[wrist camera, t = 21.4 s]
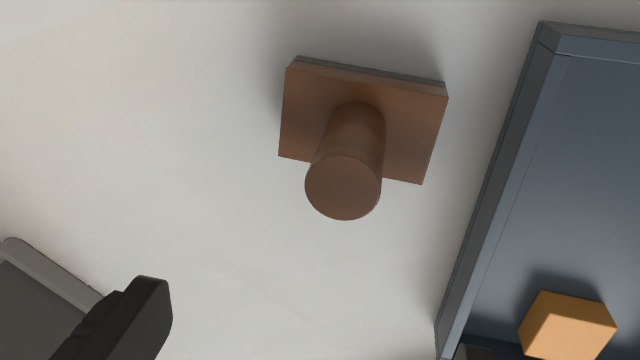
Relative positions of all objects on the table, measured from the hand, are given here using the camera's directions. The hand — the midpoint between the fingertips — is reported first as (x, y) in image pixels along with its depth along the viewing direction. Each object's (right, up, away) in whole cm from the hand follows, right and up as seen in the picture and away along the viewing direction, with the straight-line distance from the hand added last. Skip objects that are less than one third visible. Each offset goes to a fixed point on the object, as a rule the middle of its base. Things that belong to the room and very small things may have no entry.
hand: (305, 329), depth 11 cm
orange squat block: (+16, -5, +16) cm, 23 cm away
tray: (+17, +1, +13) cm, 22 cm away
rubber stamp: (+3, +8, +12) cm, 15 cm away
